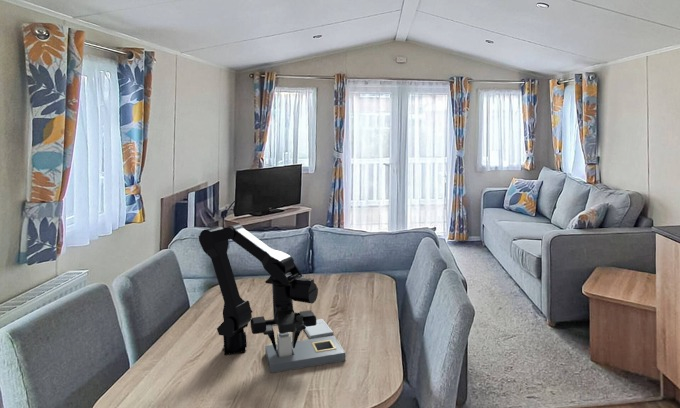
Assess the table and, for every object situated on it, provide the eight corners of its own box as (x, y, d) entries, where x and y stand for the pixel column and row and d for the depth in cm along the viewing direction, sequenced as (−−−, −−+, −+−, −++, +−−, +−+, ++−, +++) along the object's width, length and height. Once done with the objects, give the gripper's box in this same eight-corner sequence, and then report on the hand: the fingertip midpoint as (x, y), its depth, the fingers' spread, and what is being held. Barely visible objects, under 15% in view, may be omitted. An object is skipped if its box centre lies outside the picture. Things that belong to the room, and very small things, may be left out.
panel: (270, 373, 120) (270, 364, 120) (265, 353, 131) (265, 345, 131) (345, 360, 126) (345, 351, 126) (334, 343, 138) (334, 335, 137)
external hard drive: (310, 340, 141) (300, 325, 153) (333, 336, 144) (322, 322, 155) (310, 335, 141) (300, 321, 152) (333, 331, 144) (322, 318, 155)
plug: (279, 364, 125) (278, 336, 124) (278, 358, 128) (276, 331, 127) (292, 362, 126) (291, 334, 125) (289, 356, 129) (288, 329, 128)
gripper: (252, 312, 114) (255, 367, 116) (320, 304, 120) (321, 356, 122) (249, 298, 125) (251, 349, 127) (311, 291, 130) (312, 340, 132)
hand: (284, 349), depth 127 cm, fingers open, 5 cm apart
